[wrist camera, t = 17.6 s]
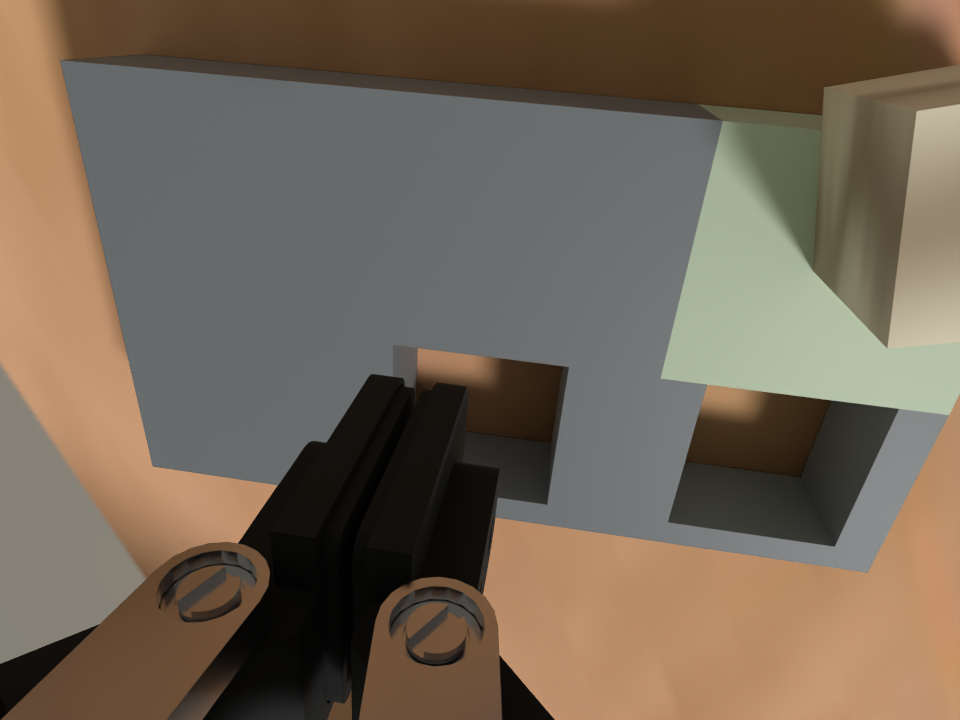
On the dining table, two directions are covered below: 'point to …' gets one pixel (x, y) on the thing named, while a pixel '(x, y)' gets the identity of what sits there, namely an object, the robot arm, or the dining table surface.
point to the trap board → (497, 288)
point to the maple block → (893, 204)
